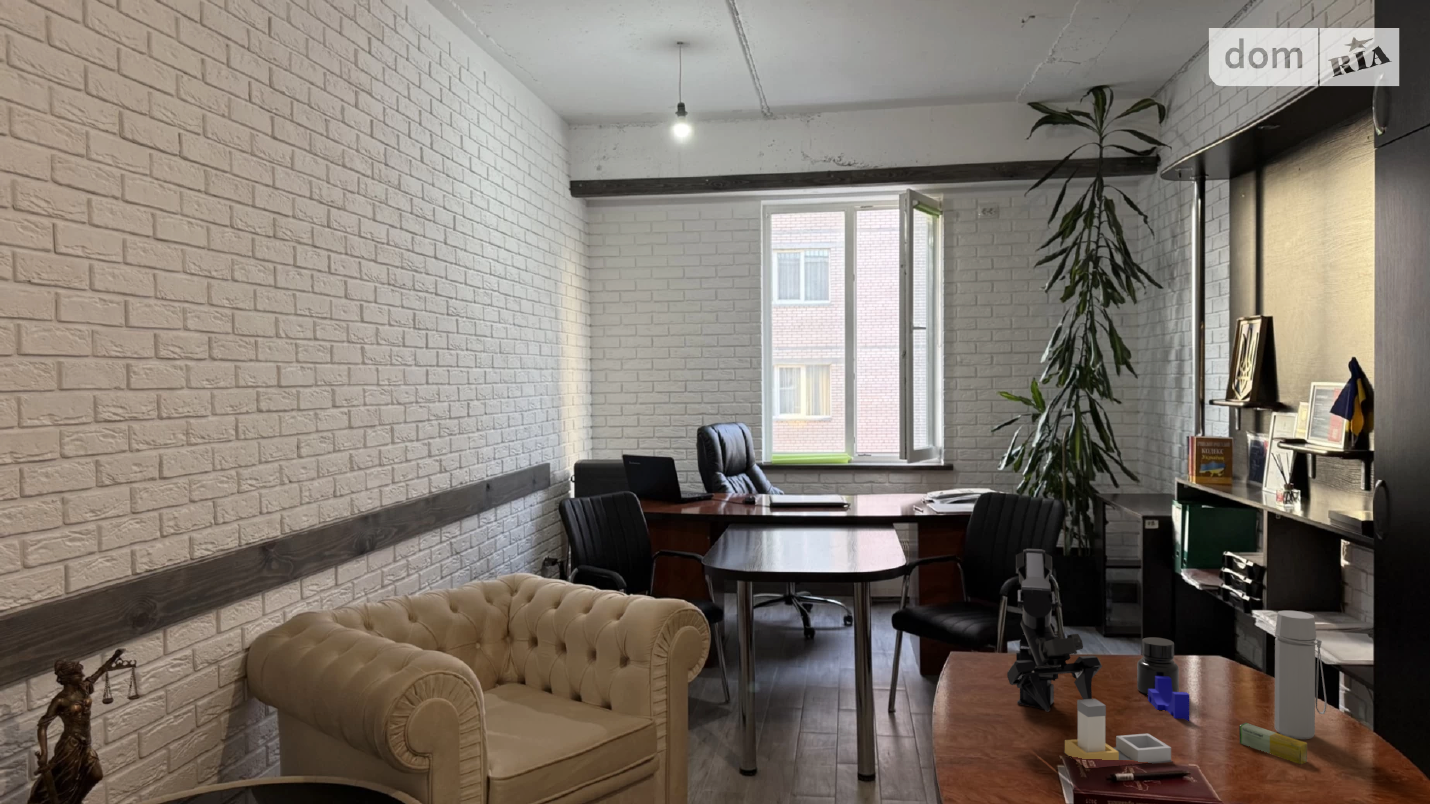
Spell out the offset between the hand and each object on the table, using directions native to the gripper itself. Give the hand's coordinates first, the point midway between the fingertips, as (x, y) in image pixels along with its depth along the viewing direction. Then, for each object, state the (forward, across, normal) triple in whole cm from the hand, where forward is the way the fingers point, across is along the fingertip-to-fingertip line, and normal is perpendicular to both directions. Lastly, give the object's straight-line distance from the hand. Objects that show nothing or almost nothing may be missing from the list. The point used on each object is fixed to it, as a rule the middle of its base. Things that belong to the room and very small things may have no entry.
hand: (1069, 709), depth 183 cm
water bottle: (+8, +49, +3) cm, 50 cm away
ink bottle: (-12, +37, +23) cm, 45 cm away
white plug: (+10, 0, -1) cm, 11 cm away
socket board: (+11, +5, 0) cm, 12 cm away
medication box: (+13, +37, -2) cm, 39 cm away
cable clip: (-4, +32, +15) cm, 35 cm away
